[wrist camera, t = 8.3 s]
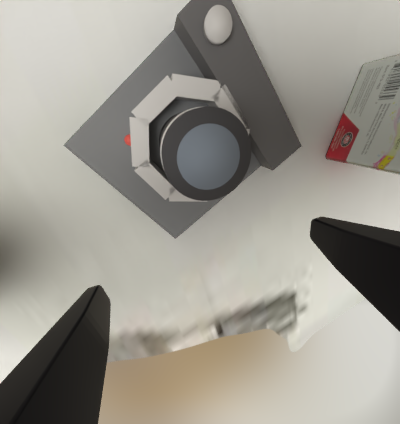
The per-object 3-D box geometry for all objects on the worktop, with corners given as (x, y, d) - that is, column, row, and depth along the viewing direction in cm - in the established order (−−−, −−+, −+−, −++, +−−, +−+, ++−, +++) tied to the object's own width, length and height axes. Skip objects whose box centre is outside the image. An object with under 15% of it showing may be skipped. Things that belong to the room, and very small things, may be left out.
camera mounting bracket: (174, 232, 21) (178, 254, 17) (69, 143, 15) (46, 150, 12) (279, 142, 19) (306, 146, 15) (204, 3, 13) (221, -37, 10)
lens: (218, 165, 17) (254, 191, 11) (166, 176, 17) (173, 211, 10) (211, 106, 15) (251, 96, 9) (151, 117, 14) (149, 114, 8)
